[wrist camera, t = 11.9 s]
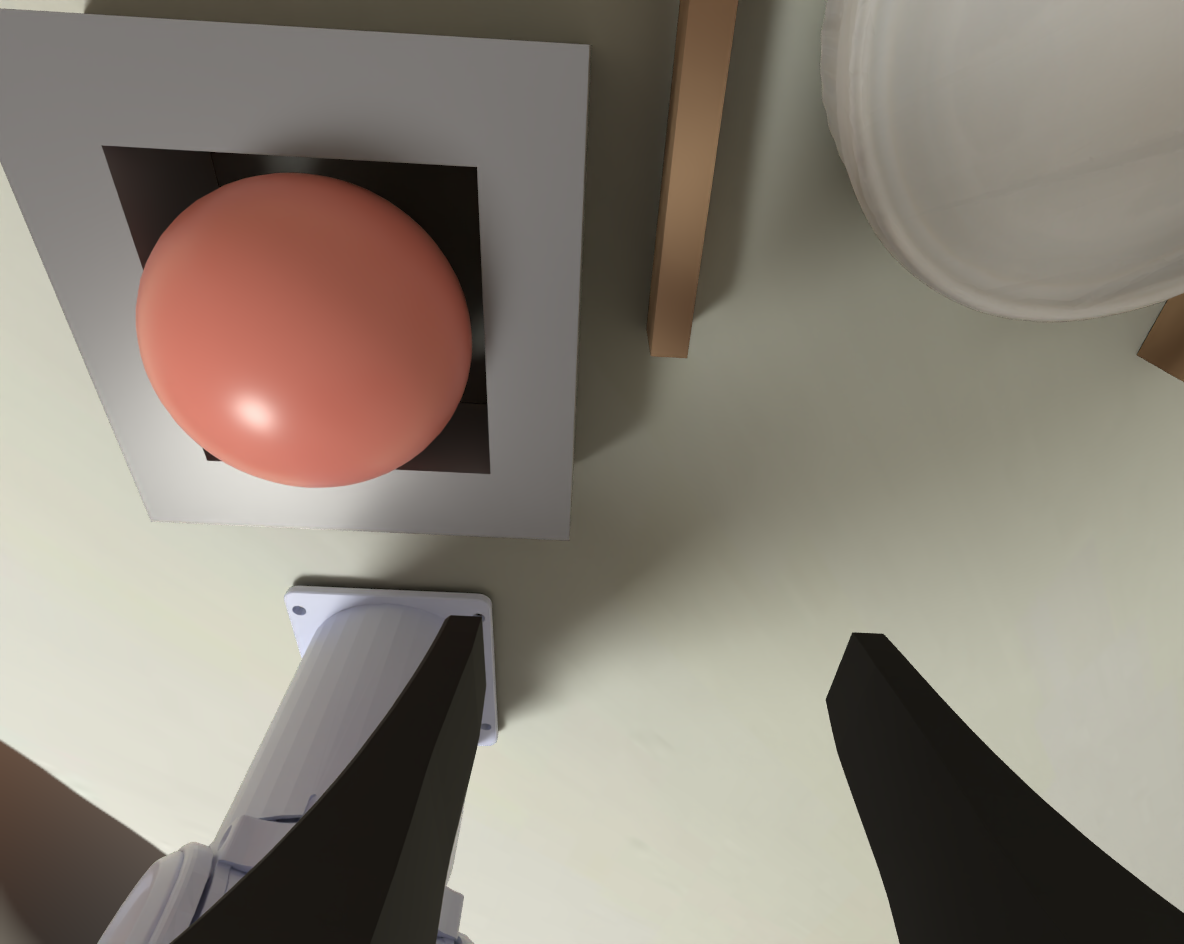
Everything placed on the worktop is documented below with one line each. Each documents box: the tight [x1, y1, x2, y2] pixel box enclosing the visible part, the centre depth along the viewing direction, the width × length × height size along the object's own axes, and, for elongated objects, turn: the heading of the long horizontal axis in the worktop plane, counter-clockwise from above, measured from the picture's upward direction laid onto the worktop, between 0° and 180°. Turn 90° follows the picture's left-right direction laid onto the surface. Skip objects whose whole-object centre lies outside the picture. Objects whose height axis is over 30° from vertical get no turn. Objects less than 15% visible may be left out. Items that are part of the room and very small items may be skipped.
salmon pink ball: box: [136, 172, 472, 488], centre depth 15 cm, size 7×7×7 cm
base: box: [0, 9, 592, 541], centre depth 17 cm, size 12×12×4 cm
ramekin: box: [820, 0, 1184, 322], centre depth 13 cm, size 11×11×5 cm
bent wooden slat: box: [646, 0, 1184, 382], centre depth 14 cm, size 15×16×2 cm
